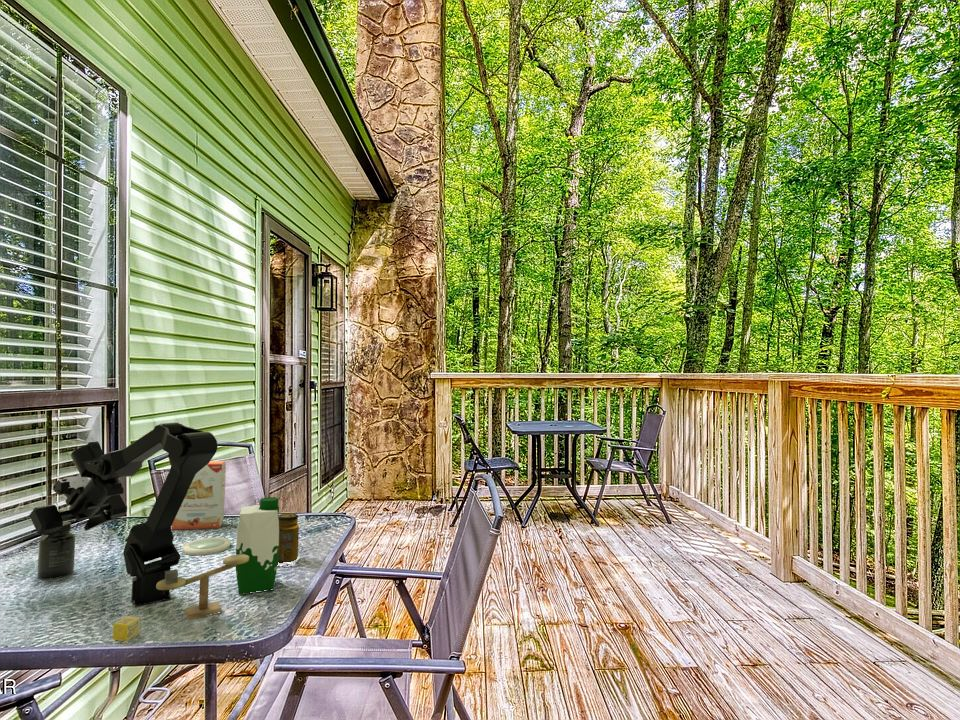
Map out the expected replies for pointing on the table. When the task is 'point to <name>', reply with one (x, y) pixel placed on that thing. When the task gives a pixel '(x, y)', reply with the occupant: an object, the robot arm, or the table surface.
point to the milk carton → (258, 546)
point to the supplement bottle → (57, 554)
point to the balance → (204, 607)
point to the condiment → (288, 537)
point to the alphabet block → (126, 628)
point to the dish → (206, 546)
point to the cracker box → (204, 499)
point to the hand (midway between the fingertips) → (64, 533)
